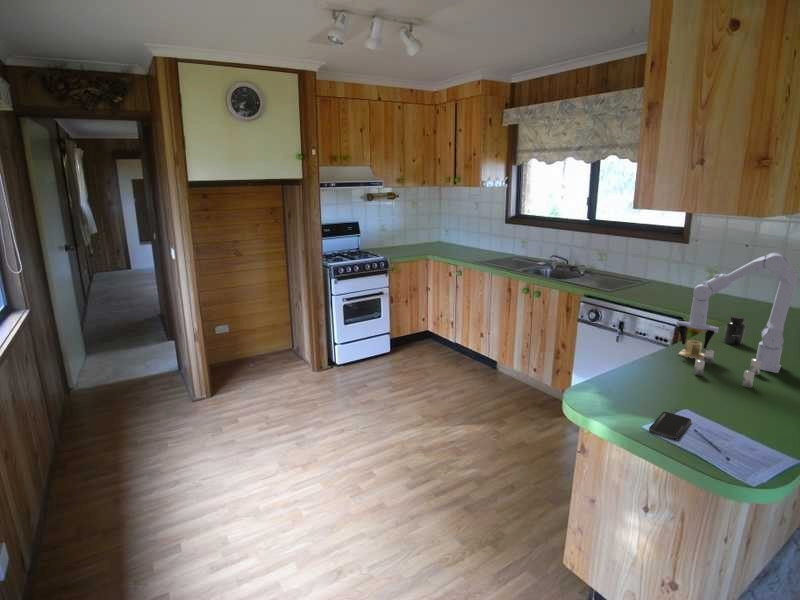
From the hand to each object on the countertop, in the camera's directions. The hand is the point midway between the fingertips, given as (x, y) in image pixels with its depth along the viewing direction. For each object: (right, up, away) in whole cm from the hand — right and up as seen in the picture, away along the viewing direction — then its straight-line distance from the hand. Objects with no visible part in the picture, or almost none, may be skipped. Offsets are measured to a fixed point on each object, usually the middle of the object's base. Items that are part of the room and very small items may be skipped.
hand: (694, 345), depth 194 cm
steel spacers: (+1, -9, -17) cm, 20 cm away
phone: (-41, -19, -54) cm, 70 cm away
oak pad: (0, -4, +1) cm, 4 cm away
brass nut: (0, -3, +1) cm, 4 cm away
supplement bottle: (+27, 0, +15) cm, 31 cm away
